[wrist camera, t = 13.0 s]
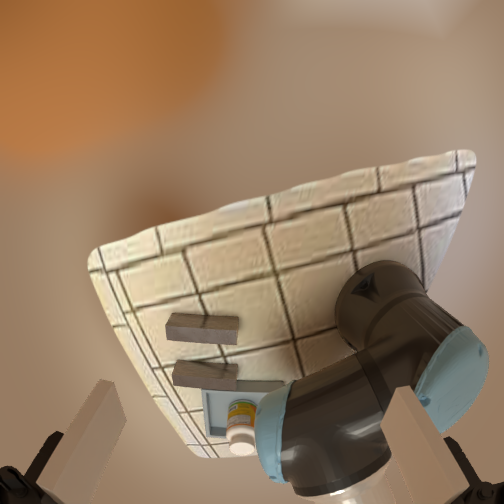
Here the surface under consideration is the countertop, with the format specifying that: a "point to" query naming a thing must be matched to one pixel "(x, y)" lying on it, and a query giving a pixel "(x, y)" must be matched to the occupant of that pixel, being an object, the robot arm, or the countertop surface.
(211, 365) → the steel jaws
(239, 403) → the supplement bottle
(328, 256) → the countertop surface
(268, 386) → the grey tray
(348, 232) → the countertop surface
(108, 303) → the countertop surface
